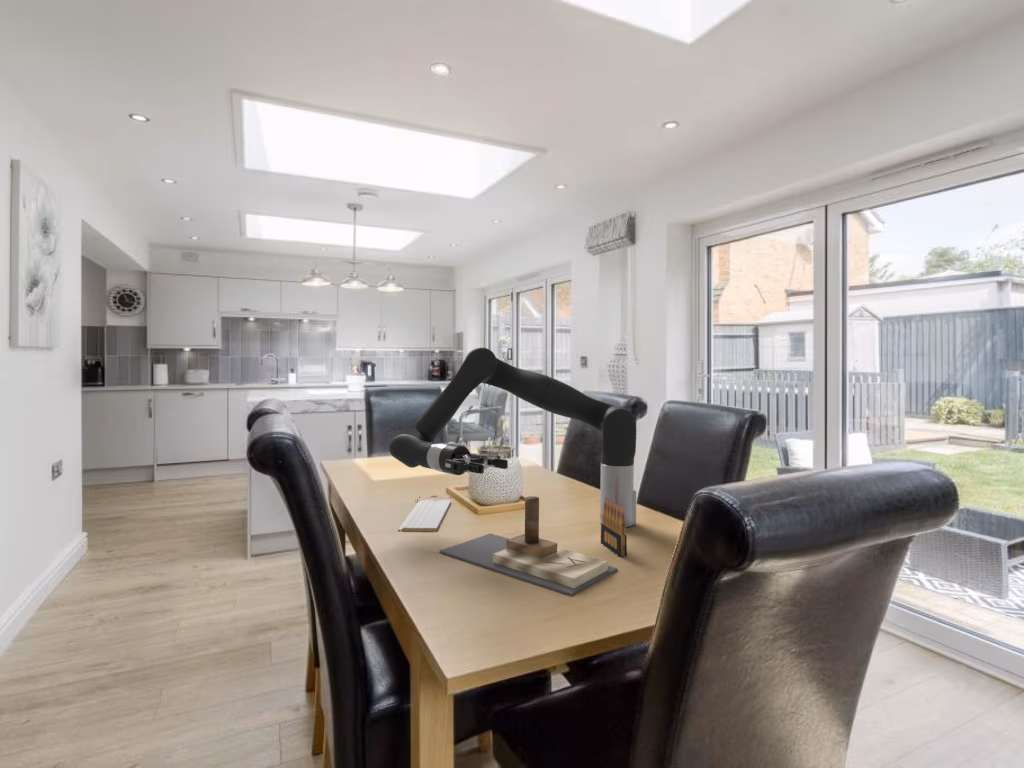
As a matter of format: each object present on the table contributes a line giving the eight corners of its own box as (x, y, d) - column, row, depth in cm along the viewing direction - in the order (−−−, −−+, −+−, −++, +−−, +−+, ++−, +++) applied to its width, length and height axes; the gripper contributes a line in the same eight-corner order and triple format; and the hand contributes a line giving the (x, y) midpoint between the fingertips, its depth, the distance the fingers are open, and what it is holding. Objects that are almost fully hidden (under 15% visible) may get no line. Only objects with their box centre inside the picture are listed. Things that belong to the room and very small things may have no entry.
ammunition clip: (600, 543, 142) (600, 496, 142) (607, 542, 143) (607, 495, 142) (619, 557, 132) (620, 506, 132) (626, 556, 133) (627, 506, 132)
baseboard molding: (392, 533, 152) (436, 533, 151) (392, 522, 151) (436, 523, 151) (414, 504, 183) (451, 504, 182) (414, 495, 182) (451, 495, 182)
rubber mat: (439, 552, 134) (439, 550, 134) (490, 535, 148) (490, 533, 148) (571, 596, 110) (571, 593, 110) (617, 570, 123) (617, 568, 123)
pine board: (492, 562, 126) (492, 553, 126) (528, 548, 136) (528, 540, 136) (574, 588, 112) (574, 578, 112) (607, 570, 122) (607, 561, 122)
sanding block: (506, 550, 128) (506, 496, 128) (522, 544, 133) (523, 492, 133) (541, 561, 122) (541, 504, 122) (557, 554, 127) (557, 499, 126)
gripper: (427, 446, 139) (474, 454, 128) (468, 441, 150) (514, 448, 139) (427, 476, 139) (474, 487, 129) (467, 469, 150) (514, 478, 140)
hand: (495, 466), depth 134 cm, fingers open, 8 cm apart
